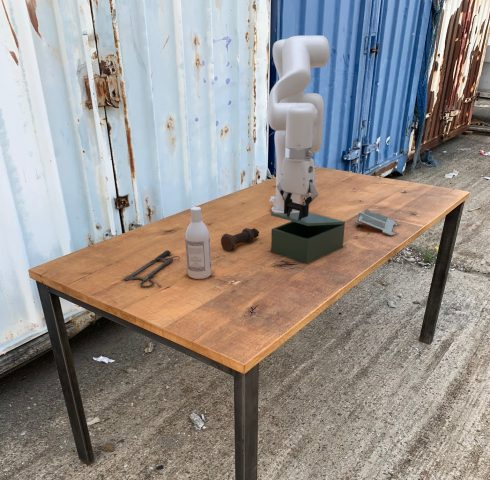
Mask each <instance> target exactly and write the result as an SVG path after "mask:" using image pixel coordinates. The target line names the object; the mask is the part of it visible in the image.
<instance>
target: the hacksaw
mask: <svg viewBox="0 0 490 480" xmlns="http://www.w3.org/2000/svg"><path fill="white" fill-rule="evenodd" d="M171 254H172V251H170V250H168V249H166V250H164V251H163V252H162V253H160V254H159V255H157V256H156V257H154V259H152V260H150V261H149V262H147V263H146V264H144V265H143V266H140V268H138V269H137V270H135V271H134V272H132V273H131V274H129V275H127V276H125V278H124V280H125V281H129V280H141V282H140V287H142V288H150V287H152V286H154V284H155V282H154V281H153V280H151V279H152V278H153V277H154V276H155V274H156V273H158V271H160V270H161V269H163V268H165V266H168V265H169V264H170V263H171V262H173V260H174V258H178V260H180V259H181V257H180V256H178V255H174V256H171V257H168V256H170V255H171ZM165 257H166V258H165ZM158 261H160V262H161V261H163V263H162V264H160V265H159V266H158V267H156V268H155V269H153V270H152V271H151V272H150V273H149V274H148V275H146V276H145V277H141V276H140V277H139V276H138V277H137V276H136V275H137V274H139V273H141V272H142V271H143V270H145V269H146V268H148V267H149V266H151V265H152V264H154V263H155V262H158ZM147 281H149V282H150V283H151V284H149V285H143V284H144V283H145V282H147Z"/></svg>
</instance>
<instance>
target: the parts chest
mask: <svg viewBox="0 0 490 480" xmlns="http://www.w3.org/2000/svg"><path fill="white" fill-rule="evenodd" d="M345 225H346V223H345V224H336V225H316V226H307V225H303V224H300V223H296V222H293V221H289V222H286V223H283V224H280V225H277V226H275V227H272V228H271V233H270V234H271V237H270V238H271V242H270V243H271V244H270V252H271V253H272V254H276V255H279V256H282V257H285V258H288V259H291V260H294V261H297V262H300V263H302V264H304V265H305V264H306V265H308V264H310V263H313V262H314V261H316V260H318V259H320V258H323V257H325V256H327V255H330V254H331V253H333V252H336V251H338V250H340V249H342V248H343V246H344V237H345V227H346V226H345Z"/></svg>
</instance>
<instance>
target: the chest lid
mask: <svg viewBox="0 0 490 480" xmlns="http://www.w3.org/2000/svg"><path fill="white" fill-rule="evenodd" d="M301 205H302V203H300V204H298V203H294V202H290V201H289V202H288V203H287V208H288V211H287V214H284V213H273V212H270V216H272V217H275V218H279V219H282V220H285V221H289V222H291V221H293V222H296V223H300V224H303V225H307V226H316V225H336V224H345V225H346V221H344V220H340V219H337V218H333V217H329V216H325V215H321V214H317V213H315V212H311V211H309V213H308V216H307V217H305V218H300V206H301ZM291 209H294V210H298V211H299V212H292V213H290V212H291Z"/></svg>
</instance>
